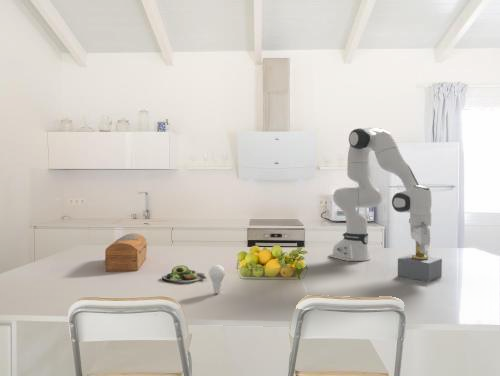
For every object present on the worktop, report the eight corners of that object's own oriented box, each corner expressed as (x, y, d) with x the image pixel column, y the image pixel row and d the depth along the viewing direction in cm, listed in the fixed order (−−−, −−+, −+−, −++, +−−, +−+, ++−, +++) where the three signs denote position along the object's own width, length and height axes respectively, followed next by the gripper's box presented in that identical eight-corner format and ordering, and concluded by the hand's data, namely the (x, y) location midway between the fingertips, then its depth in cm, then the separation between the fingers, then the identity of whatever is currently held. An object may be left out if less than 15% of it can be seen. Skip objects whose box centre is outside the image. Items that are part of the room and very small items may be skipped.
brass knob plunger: (408, 274, 180) (409, 245, 179) (415, 272, 185) (415, 243, 184) (424, 277, 175) (424, 247, 175) (430, 275, 180) (430, 245, 179)
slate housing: (397, 275, 180) (397, 258, 180) (411, 270, 190) (411, 254, 189) (429, 281, 170) (429, 263, 170) (441, 276, 180) (441, 258, 179)
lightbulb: (209, 291, 154) (209, 263, 154) (224, 291, 155) (224, 263, 155) (208, 296, 148) (208, 267, 148) (225, 295, 149) (225, 266, 149)
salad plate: (217, 277, 177) (217, 267, 177) (192, 287, 161) (192, 276, 161) (183, 272, 186) (183, 262, 186) (156, 281, 171) (156, 270, 171)
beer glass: (431, 269, 193) (432, 238, 192) (416, 268, 194) (417, 238, 193) (428, 266, 199) (429, 236, 199) (413, 265, 201) (414, 236, 200)
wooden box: (117, 258, 215) (116, 233, 215) (148, 258, 217) (147, 233, 216) (101, 272, 185) (101, 242, 185) (137, 271, 187) (137, 242, 187)
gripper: (434, 224, 168) (433, 256, 169) (422, 219, 188) (421, 248, 189) (418, 223, 169) (417, 255, 170) (408, 218, 190) (407, 247, 190)
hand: (419, 251), depth 179 cm, fingers closed on brass knob plunger, 4 cm apart
